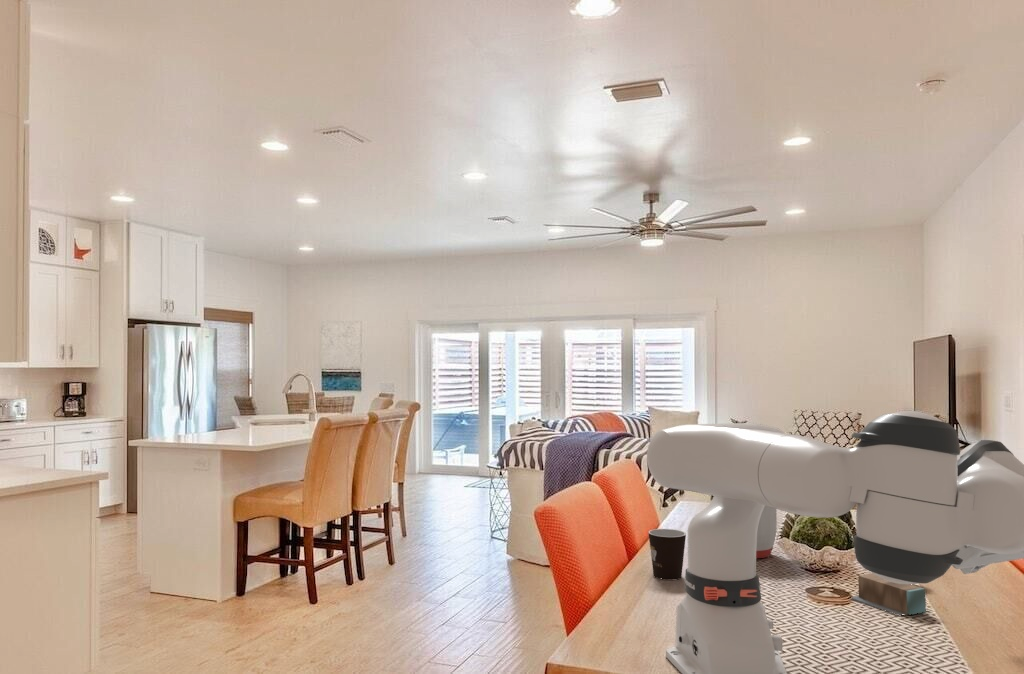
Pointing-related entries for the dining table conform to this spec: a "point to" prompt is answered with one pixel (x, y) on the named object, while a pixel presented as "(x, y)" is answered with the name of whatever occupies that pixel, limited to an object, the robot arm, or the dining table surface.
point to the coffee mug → (667, 552)
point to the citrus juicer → (766, 532)
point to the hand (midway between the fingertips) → (966, 569)
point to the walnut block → (892, 594)
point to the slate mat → (876, 605)
